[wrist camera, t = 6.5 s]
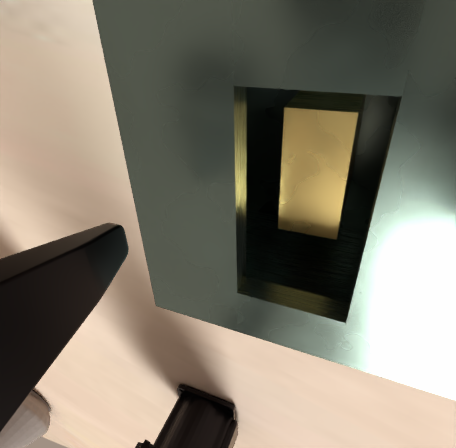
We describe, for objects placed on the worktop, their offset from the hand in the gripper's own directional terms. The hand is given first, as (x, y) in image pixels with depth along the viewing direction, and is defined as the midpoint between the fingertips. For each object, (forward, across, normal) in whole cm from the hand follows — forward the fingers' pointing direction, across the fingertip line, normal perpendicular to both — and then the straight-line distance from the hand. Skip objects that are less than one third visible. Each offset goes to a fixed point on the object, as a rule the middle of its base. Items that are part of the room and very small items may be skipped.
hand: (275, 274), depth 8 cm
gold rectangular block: (+10, 0, 0) cm, 11 cm away
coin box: (+11, 0, 0) cm, 11 cm away
